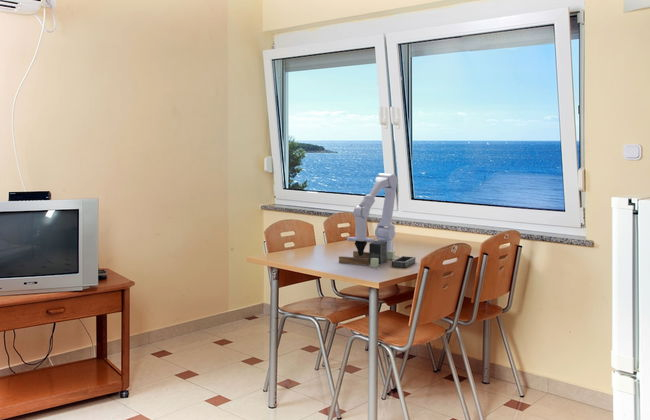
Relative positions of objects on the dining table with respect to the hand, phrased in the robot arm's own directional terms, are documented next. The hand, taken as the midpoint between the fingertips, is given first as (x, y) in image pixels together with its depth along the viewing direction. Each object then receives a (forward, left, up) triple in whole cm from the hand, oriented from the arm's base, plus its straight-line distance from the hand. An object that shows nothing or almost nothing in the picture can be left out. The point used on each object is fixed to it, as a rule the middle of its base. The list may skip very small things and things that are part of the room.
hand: (360, 255), depth 326 cm
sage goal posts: (0, +12, -3) cm, 13 cm away
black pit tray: (0, +23, -3) cm, 23 cm away
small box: (0, +10, -3) cm, 10 cm away
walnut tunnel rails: (0, 0, -3) cm, 3 cm away
